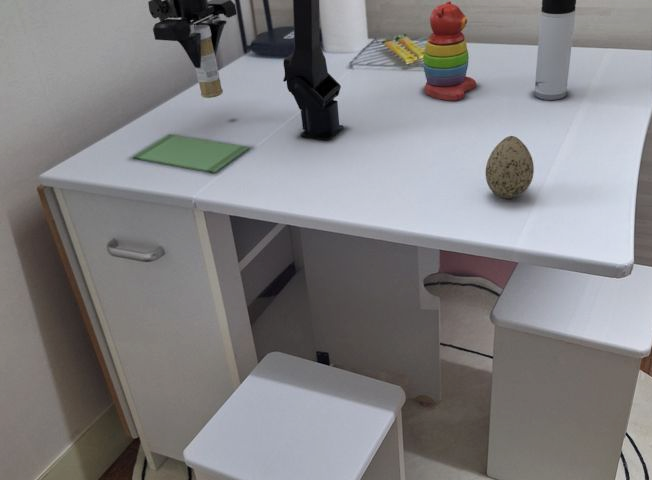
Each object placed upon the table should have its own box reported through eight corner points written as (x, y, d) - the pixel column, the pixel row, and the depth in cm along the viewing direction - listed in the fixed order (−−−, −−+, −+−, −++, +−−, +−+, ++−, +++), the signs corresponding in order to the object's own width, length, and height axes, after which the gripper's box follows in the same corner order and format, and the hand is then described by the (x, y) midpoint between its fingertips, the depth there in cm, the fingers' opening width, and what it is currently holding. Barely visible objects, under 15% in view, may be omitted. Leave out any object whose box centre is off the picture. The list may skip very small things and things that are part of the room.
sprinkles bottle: (220, 89, 143) (207, 22, 136) (225, 95, 140) (211, 27, 132) (199, 94, 142) (184, 27, 135) (203, 100, 139) (188, 32, 131)
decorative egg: (477, 190, 111) (479, 132, 105) (518, 182, 112) (522, 124, 106) (496, 210, 105) (499, 150, 100) (539, 202, 106) (545, 141, 100)
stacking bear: (459, 102, 142) (460, 12, 132) (414, 96, 147) (413, 9, 137) (479, 84, 150) (482, -2, 140) (436, 80, 155) (435, -4, 144)
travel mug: (531, 100, 140) (540, -4, 128) (536, 88, 145) (545, -13, 133) (564, 101, 138) (575, -4, 126) (567, 90, 143) (579, -13, 131)
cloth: (249, 148, 133) (248, 146, 133) (214, 173, 125) (214, 171, 125) (169, 136, 142) (168, 134, 141) (132, 158, 134) (132, 156, 134)
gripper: (186, -31, 139) (202, 47, 148) (121, -8, 126) (143, 76, 135) (230, -31, 134) (244, 50, 143) (167, -7, 121) (187, 81, 130)
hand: (205, 63), depth 138 cm, fingers closed on sprinkles bottle, 4 cm apart
